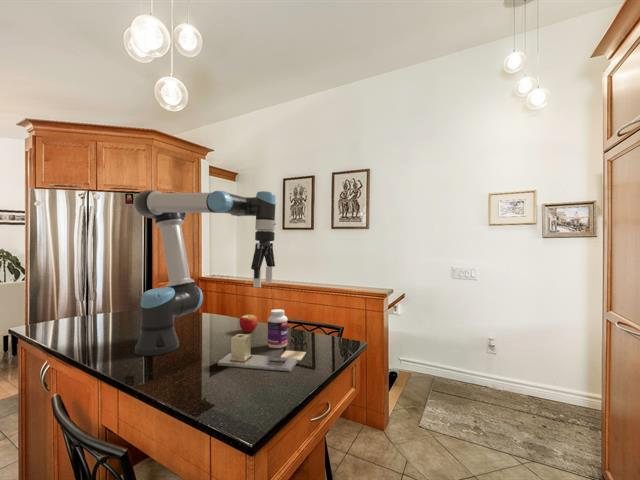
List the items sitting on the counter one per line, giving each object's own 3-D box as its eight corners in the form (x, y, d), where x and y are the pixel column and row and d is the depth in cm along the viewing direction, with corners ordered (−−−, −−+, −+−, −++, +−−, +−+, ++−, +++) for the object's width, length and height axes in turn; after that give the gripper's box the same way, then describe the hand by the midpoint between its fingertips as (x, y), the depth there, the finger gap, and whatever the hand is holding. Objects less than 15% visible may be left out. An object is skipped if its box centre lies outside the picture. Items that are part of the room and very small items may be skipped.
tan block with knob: (231, 363, 106) (231, 337, 107) (237, 358, 111) (237, 333, 111) (244, 365, 106) (244, 338, 106) (250, 359, 110) (250, 334, 111)
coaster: (279, 359, 111) (279, 358, 111) (285, 351, 119) (285, 350, 119) (300, 360, 110) (300, 359, 110) (305, 353, 117) (305, 351, 117)
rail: (217, 365, 105) (217, 362, 105) (230, 355, 114) (230, 352, 114) (290, 371, 100) (290, 368, 100) (297, 361, 109) (297, 358, 109)
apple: (261, 330, 146) (261, 309, 147) (248, 335, 139) (248, 313, 139) (248, 328, 151) (249, 307, 151) (235, 332, 144) (235, 310, 144)
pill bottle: (283, 350, 120) (284, 313, 121) (264, 348, 122) (264, 312, 122) (289, 343, 128) (290, 309, 128) (271, 342, 130) (271, 308, 130)
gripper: (263, 230, 109) (261, 289, 109) (283, 232, 133) (281, 281, 133) (243, 229, 110) (241, 288, 110) (266, 231, 134) (264, 280, 134)
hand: (263, 284), depth 121 cm, fingers open, 13 cm apart
